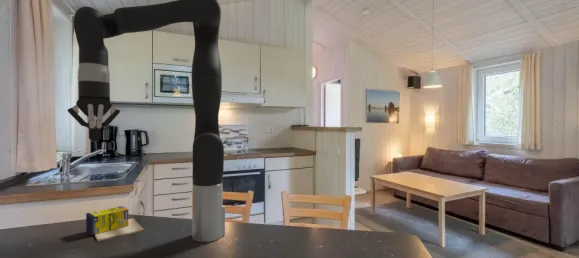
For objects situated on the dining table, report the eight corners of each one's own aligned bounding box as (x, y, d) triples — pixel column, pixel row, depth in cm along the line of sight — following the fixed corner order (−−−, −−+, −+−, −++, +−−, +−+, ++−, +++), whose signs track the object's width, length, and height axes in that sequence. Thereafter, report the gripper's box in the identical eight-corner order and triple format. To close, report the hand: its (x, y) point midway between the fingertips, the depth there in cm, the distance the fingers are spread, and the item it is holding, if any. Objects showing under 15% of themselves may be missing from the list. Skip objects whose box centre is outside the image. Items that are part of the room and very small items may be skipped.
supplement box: (91, 216, 89) (128, 208, 98) (85, 213, 93) (121, 205, 101) (92, 235, 89) (129, 225, 98) (85, 231, 93) (121, 222, 102)
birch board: (133, 219, 106) (133, 218, 106) (144, 230, 95) (144, 229, 95) (90, 228, 97) (90, 226, 97) (97, 241, 86) (97, 239, 86)
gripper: (65, 77, 75) (67, 143, 75) (123, 82, 83) (124, 141, 84) (64, 80, 80) (65, 141, 81) (118, 84, 89) (118, 139, 89)
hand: (95, 141), depth 82 cm, fingers closed
